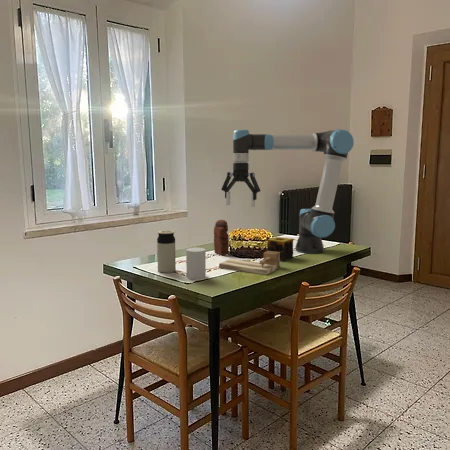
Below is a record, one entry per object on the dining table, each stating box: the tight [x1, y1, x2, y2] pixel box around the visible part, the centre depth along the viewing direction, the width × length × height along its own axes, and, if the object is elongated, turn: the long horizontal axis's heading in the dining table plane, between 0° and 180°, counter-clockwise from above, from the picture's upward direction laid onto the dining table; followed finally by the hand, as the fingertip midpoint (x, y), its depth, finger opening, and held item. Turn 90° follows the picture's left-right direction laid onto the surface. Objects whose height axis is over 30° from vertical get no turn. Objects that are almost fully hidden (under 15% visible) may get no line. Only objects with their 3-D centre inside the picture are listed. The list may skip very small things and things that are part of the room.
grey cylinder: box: [185, 247, 207, 281], centre depth 194 cm, size 8×8×12 cm
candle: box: [266, 236, 294, 262], centre depth 229 cm, size 10×10×10 cm
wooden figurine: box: [213, 219, 230, 257], centre depth 239 cm, size 12×6×18 cm, turn 25°
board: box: [218, 258, 278, 276], centre depth 209 cm, size 11×24×2 cm, turn 61°
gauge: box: [259, 250, 281, 269], centre depth 208 cm, size 14×6×7 cm, turn 151°
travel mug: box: [156, 229, 177, 274], centre depth 204 cm, size 8×8×18 cm
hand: (240, 205), depth 224 cm, fingers open, 13 cm apart
